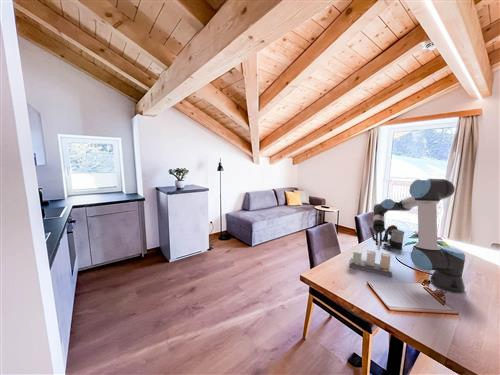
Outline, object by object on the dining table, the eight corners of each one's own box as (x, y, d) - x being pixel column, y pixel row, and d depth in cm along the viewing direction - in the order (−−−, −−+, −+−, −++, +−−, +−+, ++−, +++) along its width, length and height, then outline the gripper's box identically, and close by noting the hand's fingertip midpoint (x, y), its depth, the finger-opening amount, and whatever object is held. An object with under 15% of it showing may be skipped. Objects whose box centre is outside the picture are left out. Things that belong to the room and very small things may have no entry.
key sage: (352, 261, 151) (353, 249, 150) (360, 263, 149) (361, 251, 147) (352, 264, 147) (353, 252, 146) (360, 265, 145) (361, 253, 143)
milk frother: (402, 246, 183) (404, 230, 181) (403, 253, 170) (405, 236, 168) (382, 243, 190) (384, 227, 188) (383, 249, 177) (384, 232, 175)
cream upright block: (366, 262, 151) (367, 250, 149) (374, 263, 148) (375, 251, 147) (366, 264, 147) (367, 252, 145) (374, 266, 144) (375, 254, 143)
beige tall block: (379, 265, 147) (381, 252, 145) (388, 266, 144) (389, 254, 143) (380, 267, 143) (381, 255, 141) (389, 269, 140) (390, 257, 139)
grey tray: (350, 259, 157) (351, 255, 157) (390, 268, 146) (390, 264, 145) (349, 267, 147) (350, 262, 146) (392, 277, 135) (393, 272, 134)
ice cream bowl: (402, 242, 192) (403, 226, 190) (389, 242, 193) (391, 226, 191) (394, 238, 203) (396, 223, 201) (382, 238, 203) (384, 223, 201)
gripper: (387, 225, 165) (388, 253, 153) (368, 223, 171) (368, 249, 159) (389, 220, 160) (390, 249, 147) (369, 218, 166) (369, 245, 153)
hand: (378, 249), depth 153 cm, fingers closed
